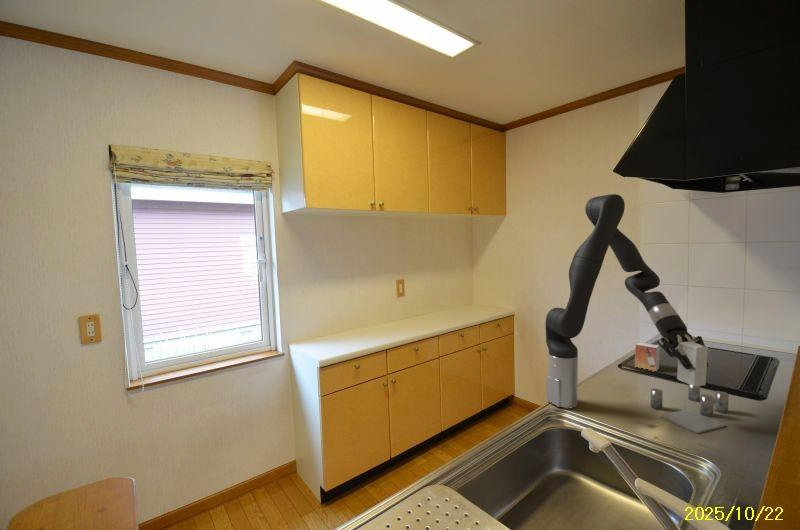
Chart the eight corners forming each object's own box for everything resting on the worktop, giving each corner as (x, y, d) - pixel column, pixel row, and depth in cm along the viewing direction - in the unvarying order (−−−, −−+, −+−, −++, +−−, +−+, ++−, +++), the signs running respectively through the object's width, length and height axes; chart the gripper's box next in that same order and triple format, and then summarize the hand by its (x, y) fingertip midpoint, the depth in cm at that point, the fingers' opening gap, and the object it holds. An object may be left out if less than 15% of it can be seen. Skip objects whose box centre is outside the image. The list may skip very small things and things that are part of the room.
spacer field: (686, 423, 112) (686, 404, 111) (648, 406, 123) (648, 389, 123) (732, 411, 118) (733, 393, 118) (692, 397, 130) (692, 380, 130)
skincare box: (676, 379, 115) (677, 341, 115) (688, 378, 116) (689, 340, 115) (694, 387, 109) (695, 347, 109) (707, 385, 110) (708, 346, 109)
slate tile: (697, 433, 106) (697, 431, 106) (660, 416, 116) (660, 415, 116) (725, 426, 109) (725, 424, 109) (686, 410, 120) (686, 409, 120)
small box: (634, 367, 161) (634, 344, 160) (638, 364, 165) (638, 341, 164) (656, 372, 155) (656, 347, 155) (659, 368, 159) (659, 345, 158)
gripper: (652, 314, 118) (683, 363, 107) (694, 313, 119) (728, 361, 108) (640, 327, 124) (668, 374, 113) (680, 325, 125) (711, 372, 114)
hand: (697, 367), depth 111 cm, fingers closed on skincare box, 4 cm apart
